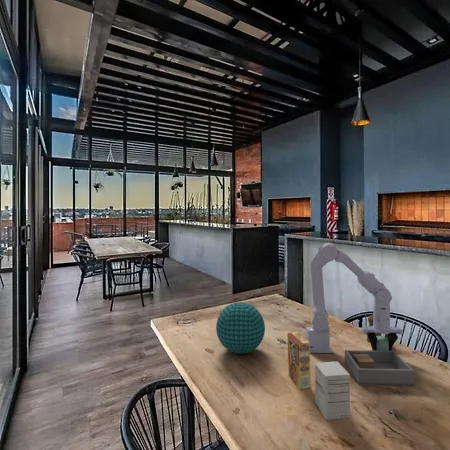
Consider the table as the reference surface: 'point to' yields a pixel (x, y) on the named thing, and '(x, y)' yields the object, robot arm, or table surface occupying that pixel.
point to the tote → (380, 368)
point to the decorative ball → (240, 328)
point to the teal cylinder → (382, 343)
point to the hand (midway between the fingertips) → (381, 351)
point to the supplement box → (332, 390)
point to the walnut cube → (364, 361)
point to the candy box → (299, 360)
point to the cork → (370, 320)
